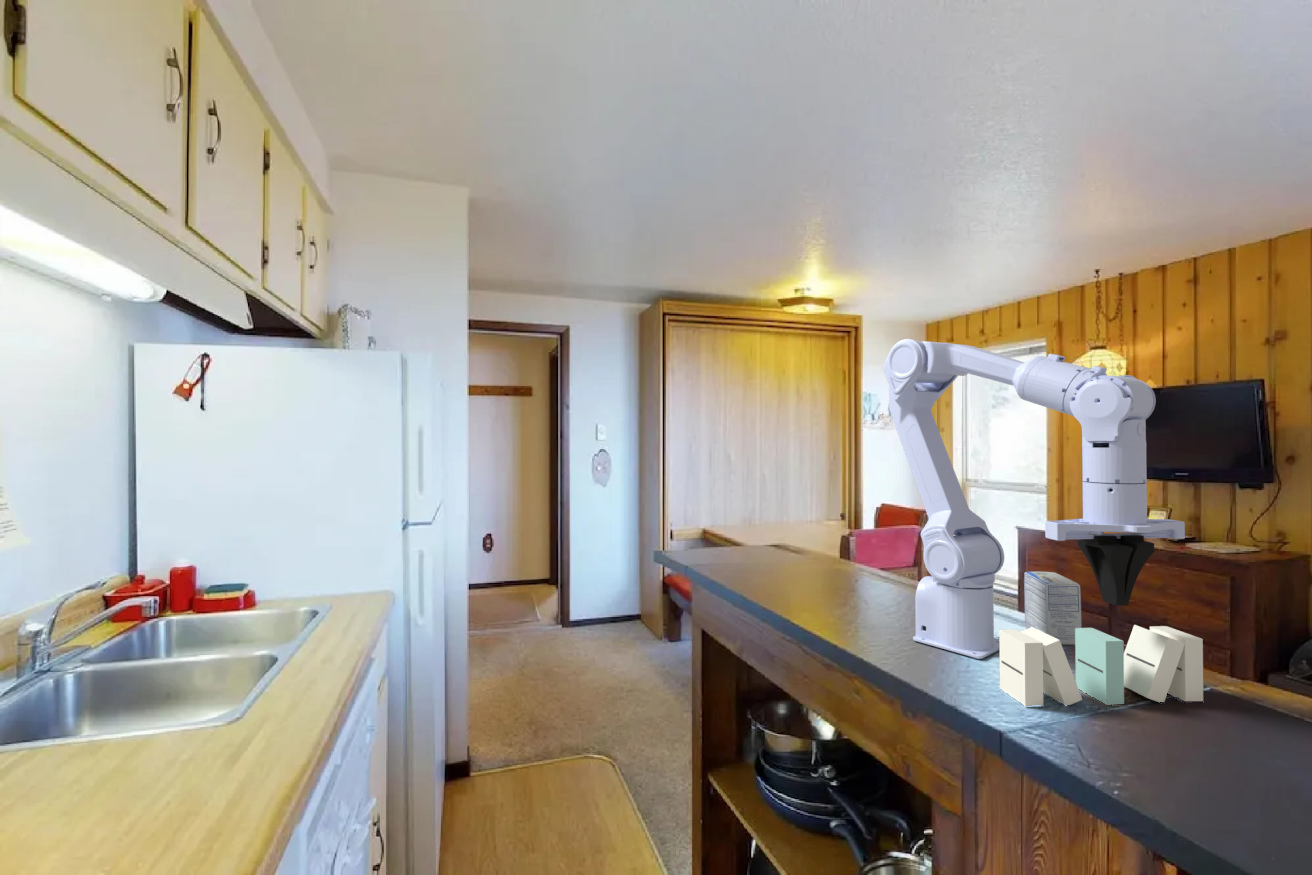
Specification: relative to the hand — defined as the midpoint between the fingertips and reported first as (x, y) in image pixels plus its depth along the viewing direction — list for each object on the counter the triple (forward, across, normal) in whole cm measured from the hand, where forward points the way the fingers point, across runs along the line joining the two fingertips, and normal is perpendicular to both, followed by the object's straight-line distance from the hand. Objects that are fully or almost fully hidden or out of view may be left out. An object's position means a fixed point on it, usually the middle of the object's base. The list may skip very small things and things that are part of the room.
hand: (1115, 603), depth 66 cm
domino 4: (+10, +3, 0) cm, 10 cm away
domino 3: (+10, -2, 0) cm, 11 cm away
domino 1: (+10, -11, 0) cm, 15 cm away
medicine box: (+11, +7, +20) cm, 23 cm away
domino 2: (+10, -6, 0) cm, 12 cm away
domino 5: (+10, +7, 0) cm, 13 cm away
